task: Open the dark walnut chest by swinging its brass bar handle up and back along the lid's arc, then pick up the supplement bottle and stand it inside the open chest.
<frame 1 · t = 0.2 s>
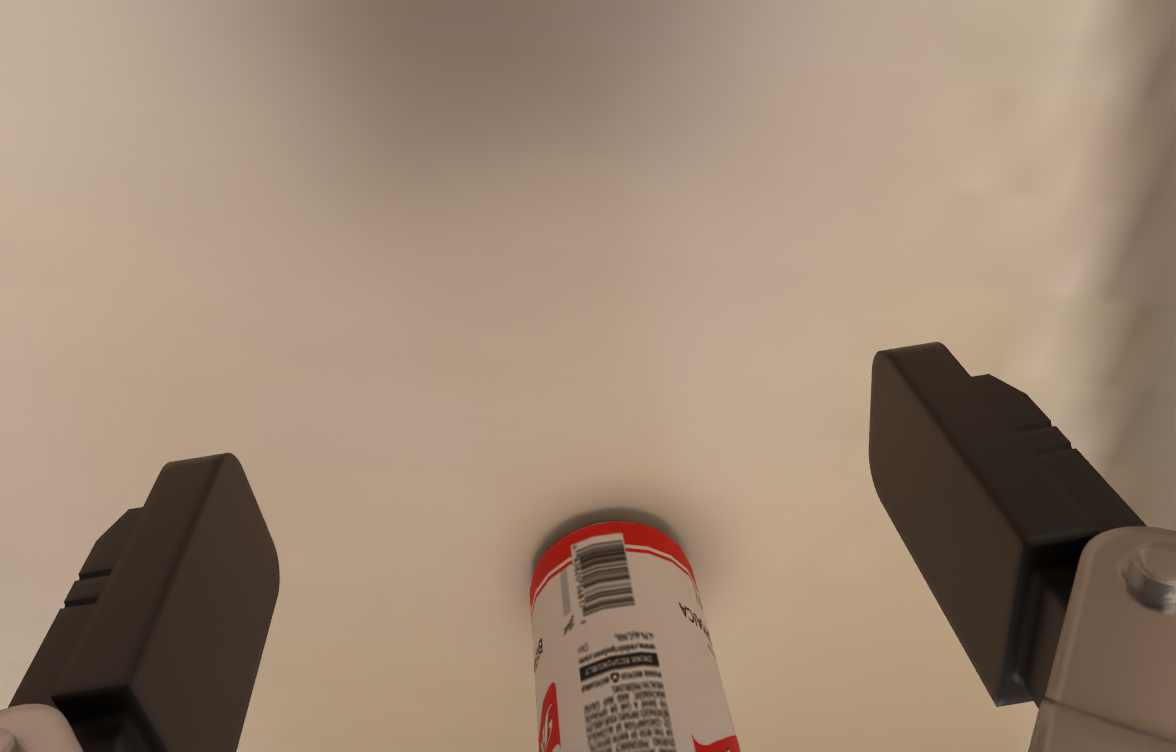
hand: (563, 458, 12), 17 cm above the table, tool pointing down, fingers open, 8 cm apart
beer can: (608, 565, 36), on the table
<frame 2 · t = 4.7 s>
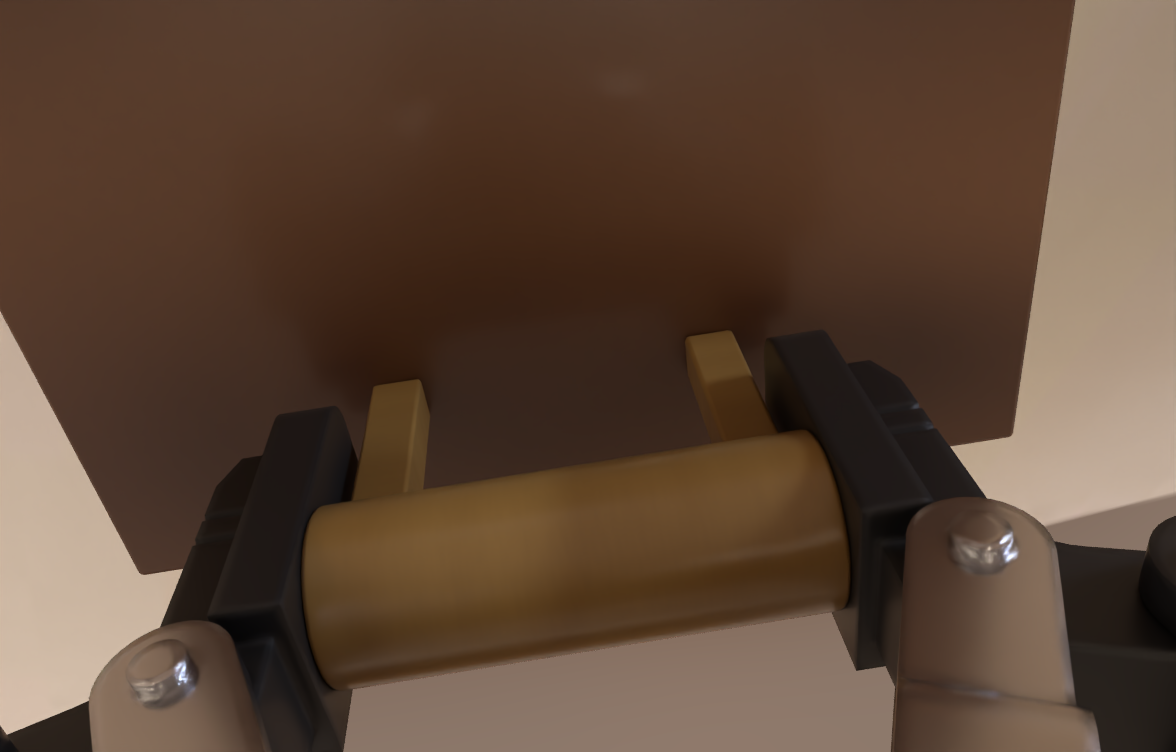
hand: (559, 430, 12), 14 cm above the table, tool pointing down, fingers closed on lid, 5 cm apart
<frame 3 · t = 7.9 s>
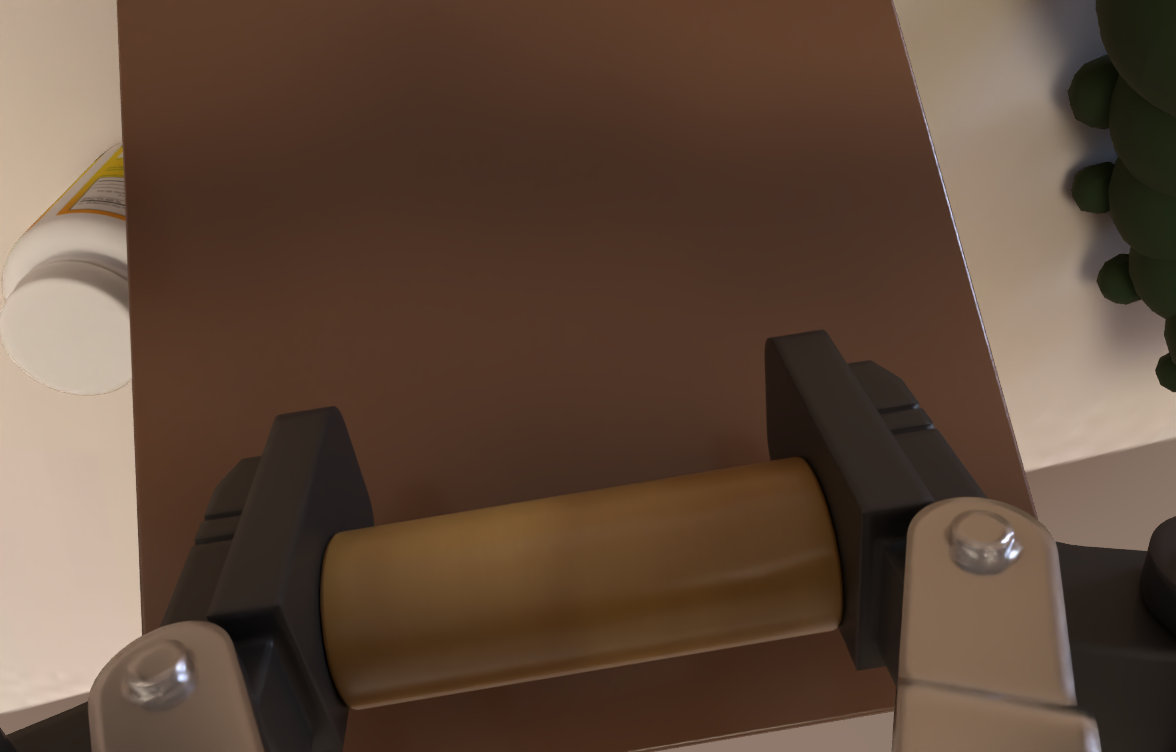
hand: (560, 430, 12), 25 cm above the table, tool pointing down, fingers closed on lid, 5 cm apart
toy figurine: (1142, 69, 36), on the table
supplement bottle: (171, 201, 35), on the table
lid: (516, 134, 14), point 21 cm above the table, hinge at 47.6°, touching gripper
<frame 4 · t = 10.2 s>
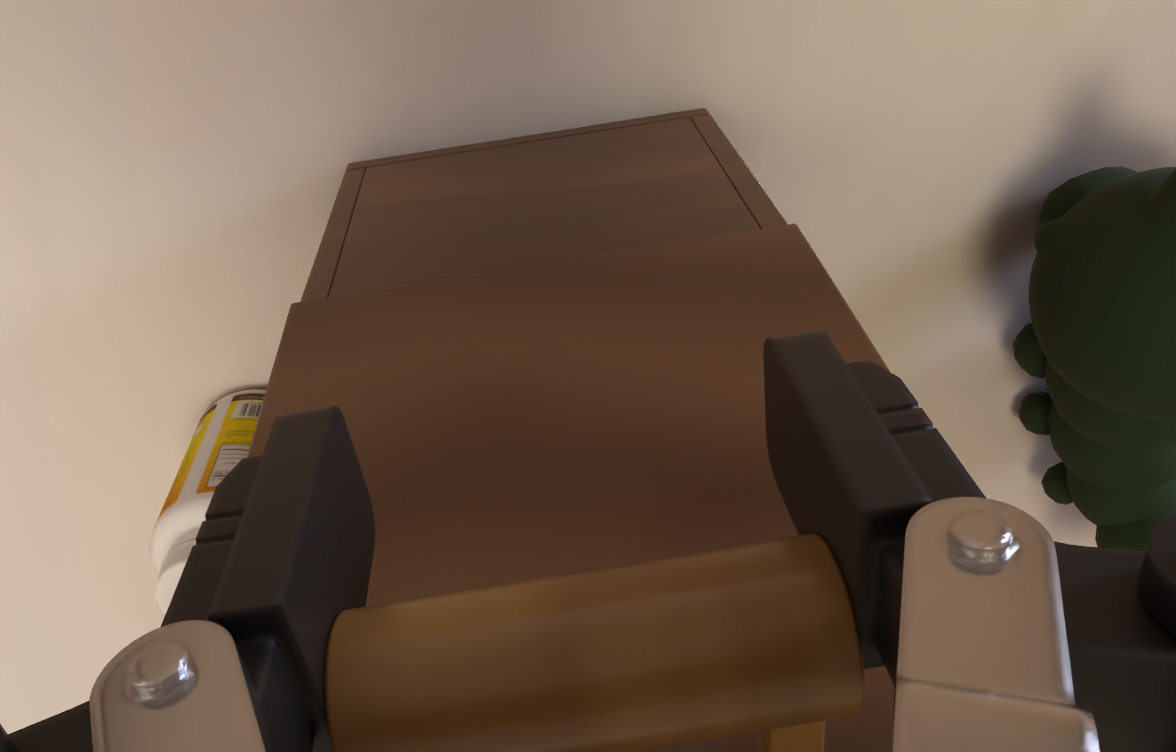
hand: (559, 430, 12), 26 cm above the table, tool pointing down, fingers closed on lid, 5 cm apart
toy figurine: (1075, 320, 44), on the table
chest: (559, 329, 41), on the table
supplement bottle: (265, 431, 42), on the table
lid: (563, 413, 17), point 22 cm above the table, hinge at 86.4°, touching gripper
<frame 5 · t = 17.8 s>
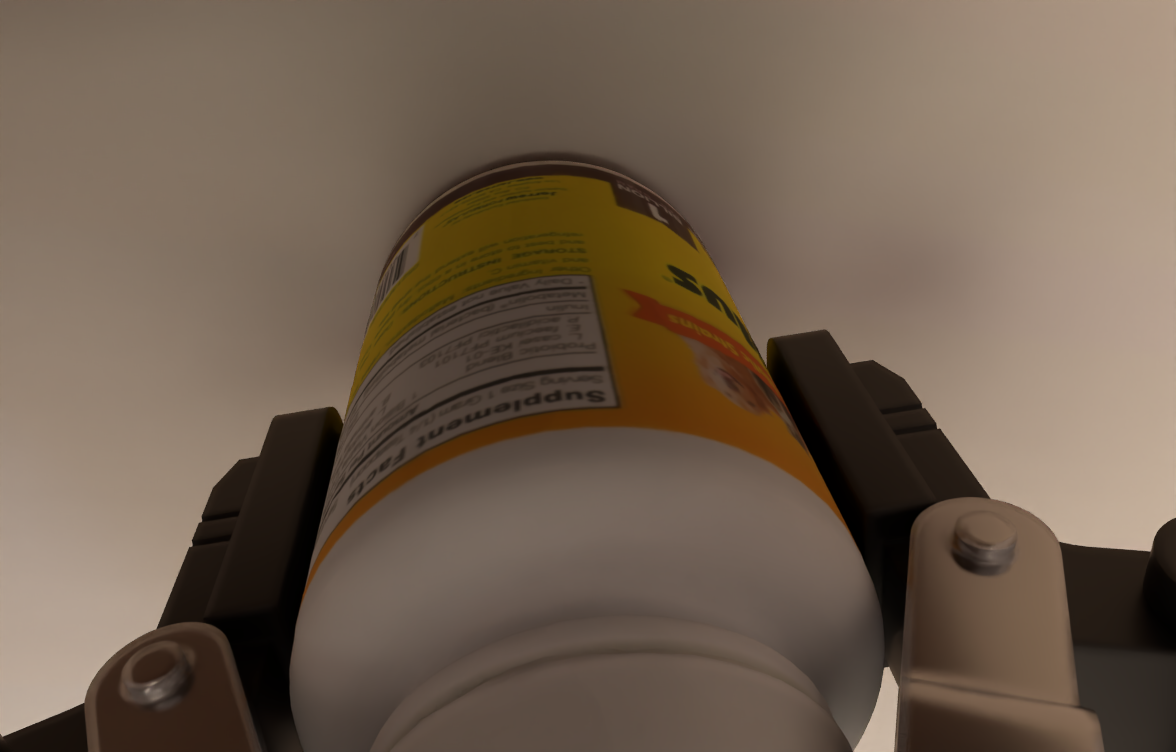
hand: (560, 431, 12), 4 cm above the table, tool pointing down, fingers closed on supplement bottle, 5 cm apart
supplement bottle: (547, 304, 15), on the table, touching gripper
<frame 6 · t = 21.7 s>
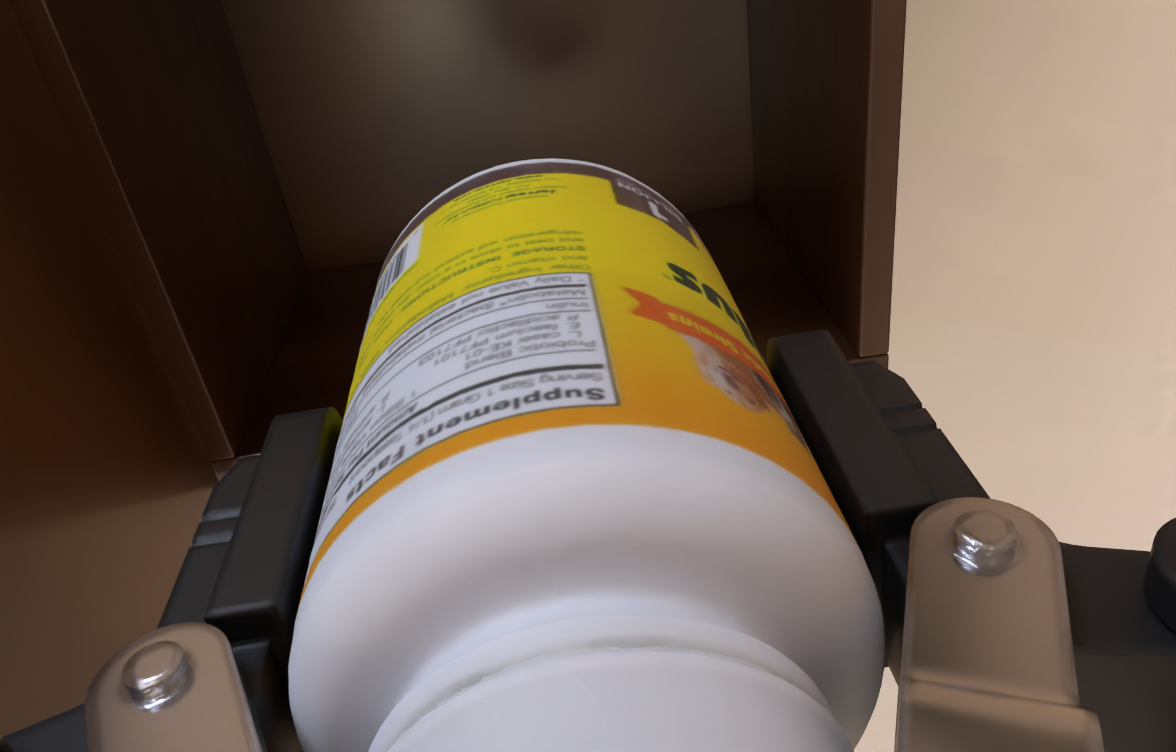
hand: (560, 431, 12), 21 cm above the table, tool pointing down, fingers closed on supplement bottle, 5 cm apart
chest: (499, 51, 30), on the table
supplement bottle: (547, 302, 15), point 18 cm above the table, touching gripper
when the fingers open (4 cm above the table, at t = 26.0 s): supplement bottle stays where it is, resting on chest.
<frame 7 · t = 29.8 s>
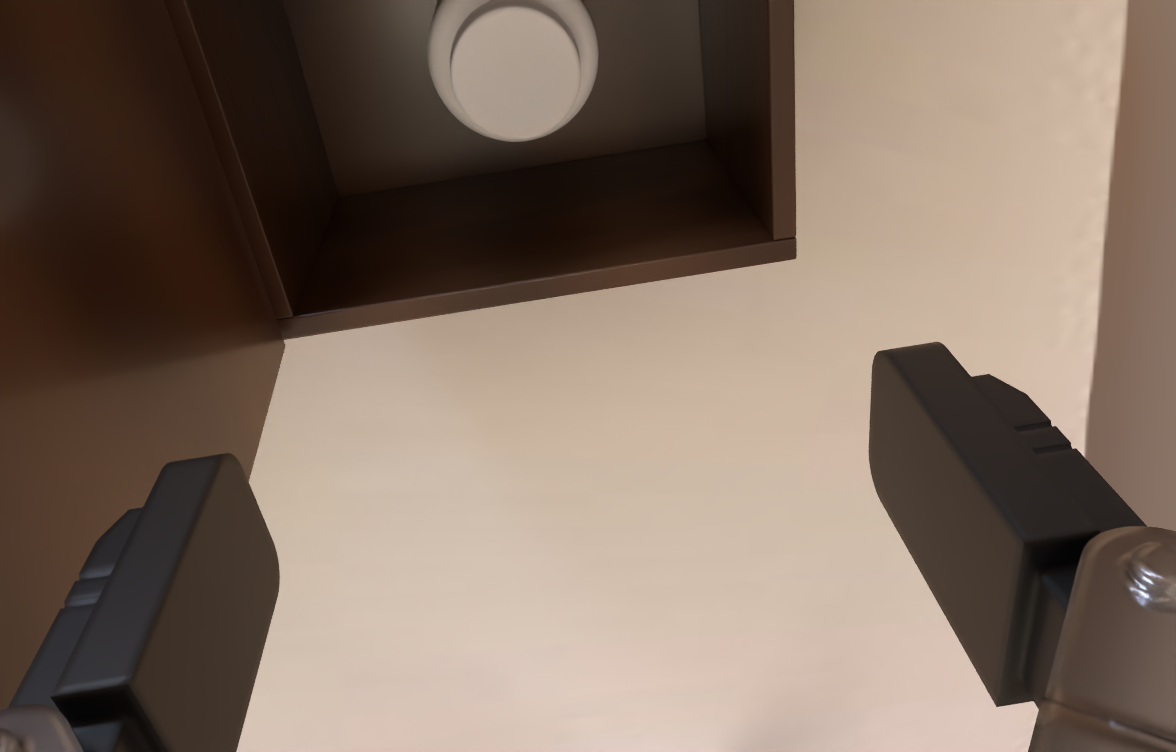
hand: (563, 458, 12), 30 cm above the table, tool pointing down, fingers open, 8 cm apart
chest: (496, 12, 37), on the table
supplement bottle: (509, 11, 37), point 1 cm above the table, touching chest
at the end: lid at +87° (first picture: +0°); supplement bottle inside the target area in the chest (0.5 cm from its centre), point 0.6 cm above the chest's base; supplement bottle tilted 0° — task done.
